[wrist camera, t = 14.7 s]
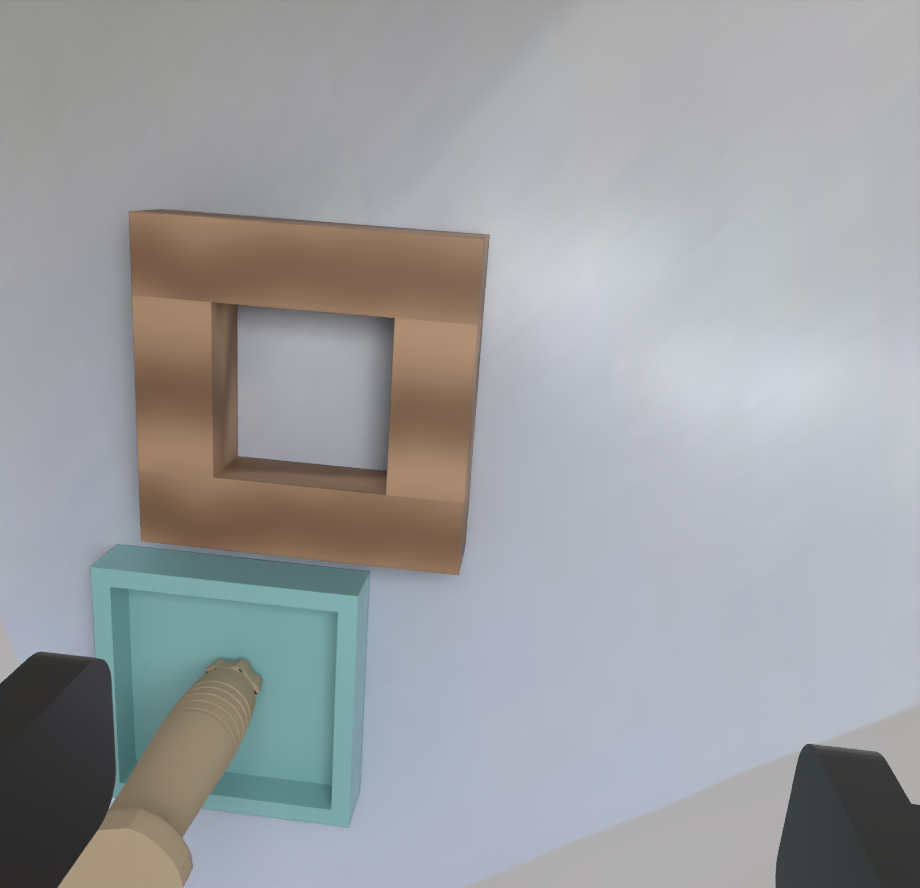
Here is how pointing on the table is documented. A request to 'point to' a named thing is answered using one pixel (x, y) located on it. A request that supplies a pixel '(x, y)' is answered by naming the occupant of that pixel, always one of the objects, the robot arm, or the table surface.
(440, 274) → the socket block
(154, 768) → the handle
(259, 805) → the tray
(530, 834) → the table surface
